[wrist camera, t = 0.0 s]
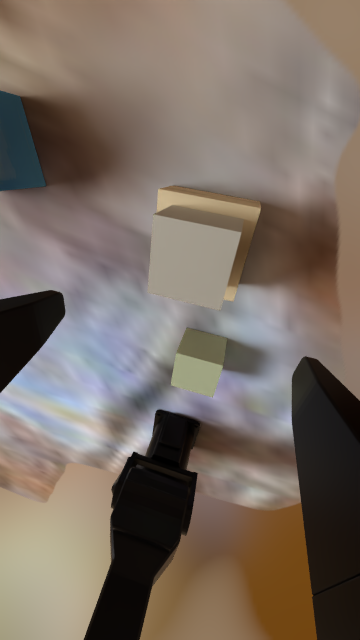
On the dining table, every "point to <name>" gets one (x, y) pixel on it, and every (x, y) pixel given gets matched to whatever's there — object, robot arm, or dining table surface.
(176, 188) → the beech slab
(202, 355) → the sage cube
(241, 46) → the dining table surface
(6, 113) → the perfume bottle
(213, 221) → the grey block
